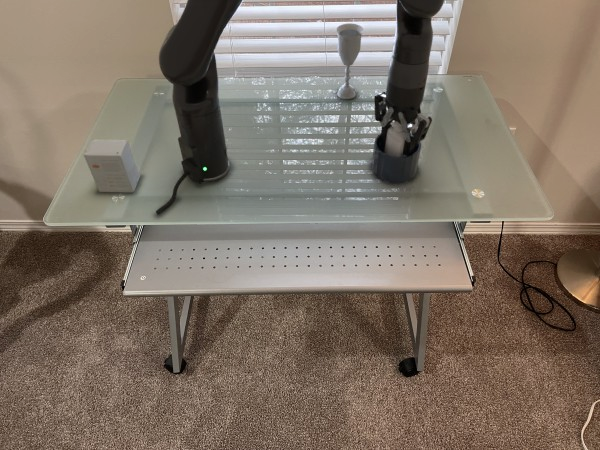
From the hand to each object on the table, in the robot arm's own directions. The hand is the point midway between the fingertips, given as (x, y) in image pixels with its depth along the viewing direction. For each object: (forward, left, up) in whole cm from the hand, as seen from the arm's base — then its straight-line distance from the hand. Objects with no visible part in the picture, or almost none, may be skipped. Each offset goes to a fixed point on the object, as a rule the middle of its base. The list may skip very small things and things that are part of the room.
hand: (396, 146), depth 111 cm
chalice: (+14, +30, -7) cm, 34 cm away
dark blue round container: (0, 0, -6) cm, 6 cm away
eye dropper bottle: (0, 0, -4) cm, 4 cm away
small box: (-50, +37, -7) cm, 62 cm away
